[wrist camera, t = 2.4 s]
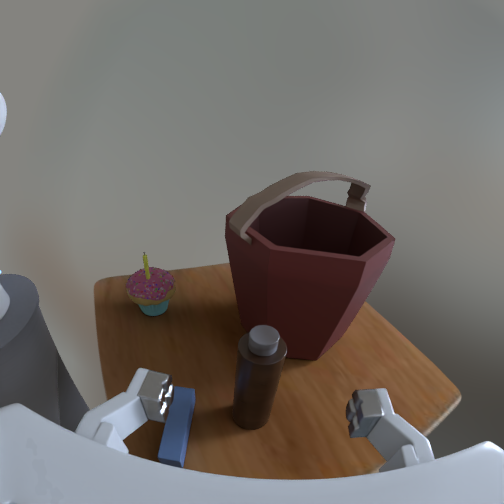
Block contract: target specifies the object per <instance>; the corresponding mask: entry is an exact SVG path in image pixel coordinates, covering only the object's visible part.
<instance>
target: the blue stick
mask: <svg viewBox="0 0 504 504" xmlns="http://www.w3.org/2000/svg"><path fill="white" fill-rule="evenodd" d="M195 400H196V399H195V390H194V389H191V388H184V387H178V386H175V388H174V398H173V402H172V405H170V407H169V414H168V417H167V420H166V423H165V427H164V431H163V435H162V440H161V444H160V448H159V452H158V456H157V457H158V459H159V461H160V463H162V464H166V465H170V466H174V467H179V468H183V465H184V459H185V454H186V448H187V442H188V437H189V431H190V426H191V421H192V415H193V410H194V405H195Z"/></svg>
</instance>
